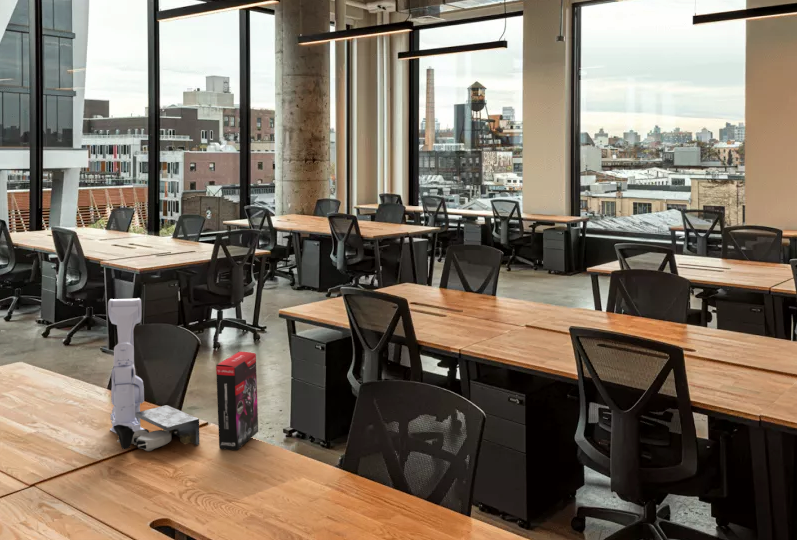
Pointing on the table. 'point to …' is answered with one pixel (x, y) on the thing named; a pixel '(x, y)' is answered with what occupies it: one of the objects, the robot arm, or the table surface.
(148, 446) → the robot toy
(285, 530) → the table surface
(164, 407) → the overhang shelf
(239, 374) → the graphics card box
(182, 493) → the table surface
